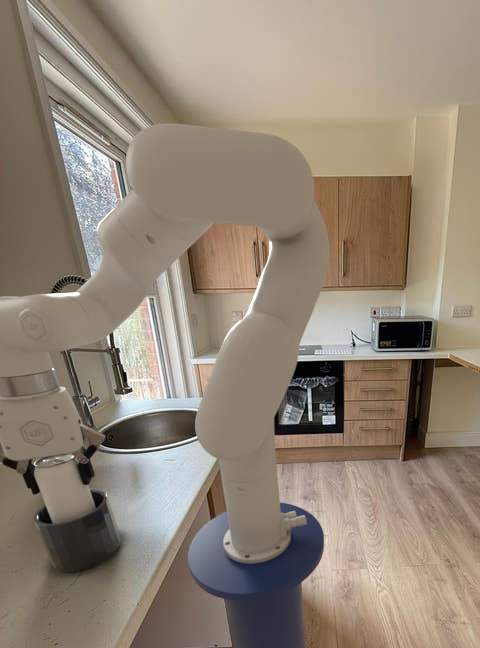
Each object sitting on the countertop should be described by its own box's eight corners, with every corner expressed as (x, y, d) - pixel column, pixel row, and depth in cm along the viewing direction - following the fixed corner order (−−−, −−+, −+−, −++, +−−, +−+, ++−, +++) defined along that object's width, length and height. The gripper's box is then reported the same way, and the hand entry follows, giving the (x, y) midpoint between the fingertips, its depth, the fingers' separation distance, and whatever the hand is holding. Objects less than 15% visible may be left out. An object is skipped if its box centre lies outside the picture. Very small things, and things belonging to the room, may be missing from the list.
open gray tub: (124, 526, 71) (111, 484, 68) (116, 562, 62) (101, 516, 58) (62, 540, 68) (45, 497, 64) (44, 580, 59) (23, 532, 55)
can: (83, 505, 66) (63, 448, 62) (105, 513, 64) (86, 454, 59) (46, 524, 61) (21, 463, 56) (68, 534, 58) (44, 471, 54)
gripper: (-62, 397, 47) (-9, 509, 53) (88, 383, 52) (118, 485, 59) (-33, 384, 53) (11, 485, 60) (97, 372, 59) (123, 466, 66)
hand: (63, 484), depth 59 cm, fingers closed on can, 6 cm apart
